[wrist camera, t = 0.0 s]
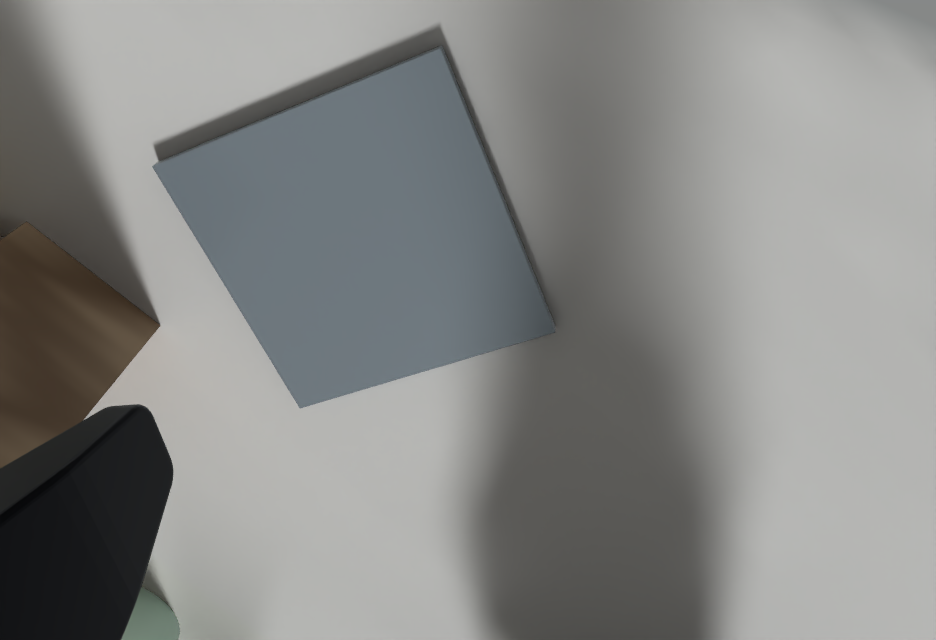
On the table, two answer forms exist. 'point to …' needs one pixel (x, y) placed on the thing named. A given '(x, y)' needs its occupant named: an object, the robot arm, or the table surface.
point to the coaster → (363, 232)
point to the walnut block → (56, 340)
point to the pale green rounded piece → (151, 619)
